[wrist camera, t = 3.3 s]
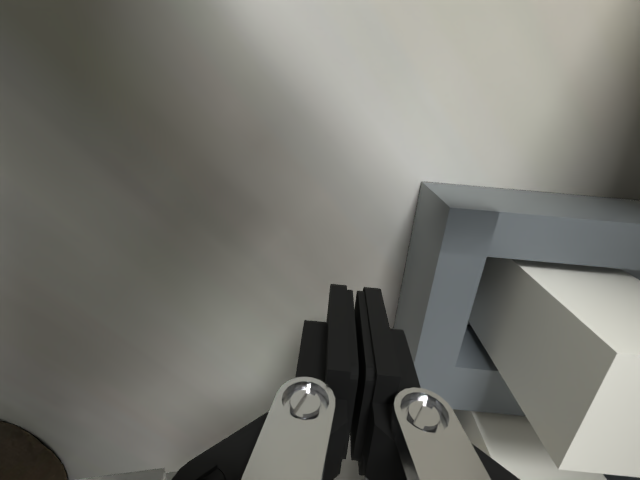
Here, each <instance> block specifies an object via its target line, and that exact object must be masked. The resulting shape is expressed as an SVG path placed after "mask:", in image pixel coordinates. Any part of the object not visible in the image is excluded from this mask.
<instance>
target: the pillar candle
mask: <svg viewBox="0 0 640 480" xmlns="http://www.w3.org/2000/svg"><path fill="white" fill-rule="evenodd" d="M60 462H61V461H59V459H58V458H57V457H56V456H55V454H54V453H53V452H52V451H51V450H50V449H47V448H46V447H45V445H42V443H40V441H39V440H38V439H37V438H35V437H33V435H31V434H29V432H27V431H24V430H23V429H21V427H18V426H15V425H13V424H10V423H6V422H2V421H0V480H67V474H66V472H65V470H64V466H63V464H61V463H60Z"/></svg>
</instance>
